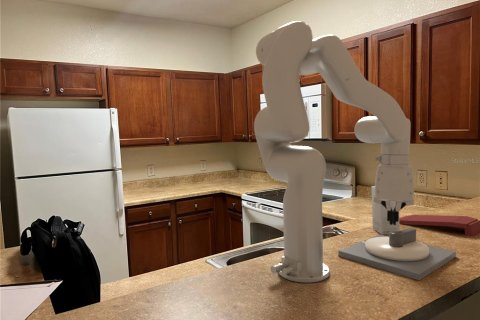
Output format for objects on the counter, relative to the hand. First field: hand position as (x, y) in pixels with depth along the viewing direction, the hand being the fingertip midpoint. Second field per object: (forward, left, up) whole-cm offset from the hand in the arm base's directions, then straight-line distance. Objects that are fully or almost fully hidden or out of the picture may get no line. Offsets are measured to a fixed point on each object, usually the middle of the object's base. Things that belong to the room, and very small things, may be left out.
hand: (392, 223), depth 99 cm
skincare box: (+16, +11, -8) cm, 21 cm away
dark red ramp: (+34, +2, -8) cm, 35 cm away
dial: (-4, -3, -6) cm, 8 cm away
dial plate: (-4, -3, -8) cm, 9 cm away
